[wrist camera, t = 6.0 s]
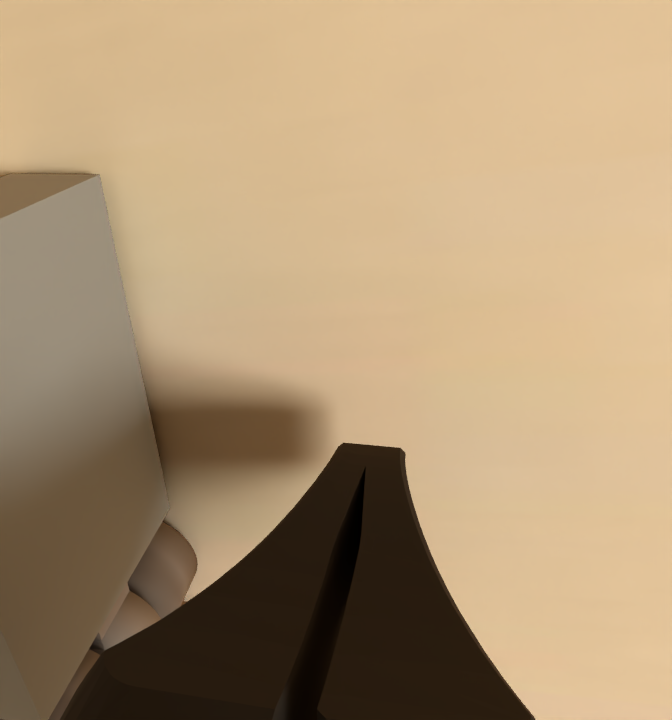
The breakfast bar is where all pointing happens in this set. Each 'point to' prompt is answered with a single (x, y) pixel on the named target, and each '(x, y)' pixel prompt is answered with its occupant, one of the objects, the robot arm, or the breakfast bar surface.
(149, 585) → the fixed leaf
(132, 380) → the swing leaf
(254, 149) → the breakfast bar surface
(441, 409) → the breakfast bar surface
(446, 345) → the breakfast bar surface
